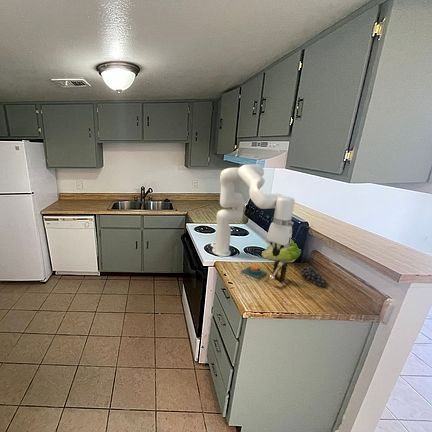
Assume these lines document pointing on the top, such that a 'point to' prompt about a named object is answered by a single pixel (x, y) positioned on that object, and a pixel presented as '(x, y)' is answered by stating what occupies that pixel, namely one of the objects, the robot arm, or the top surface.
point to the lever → (279, 266)
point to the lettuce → (283, 253)
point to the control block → (253, 272)
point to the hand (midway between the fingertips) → (275, 255)
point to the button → (254, 268)
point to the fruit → (313, 276)
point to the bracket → (283, 271)
